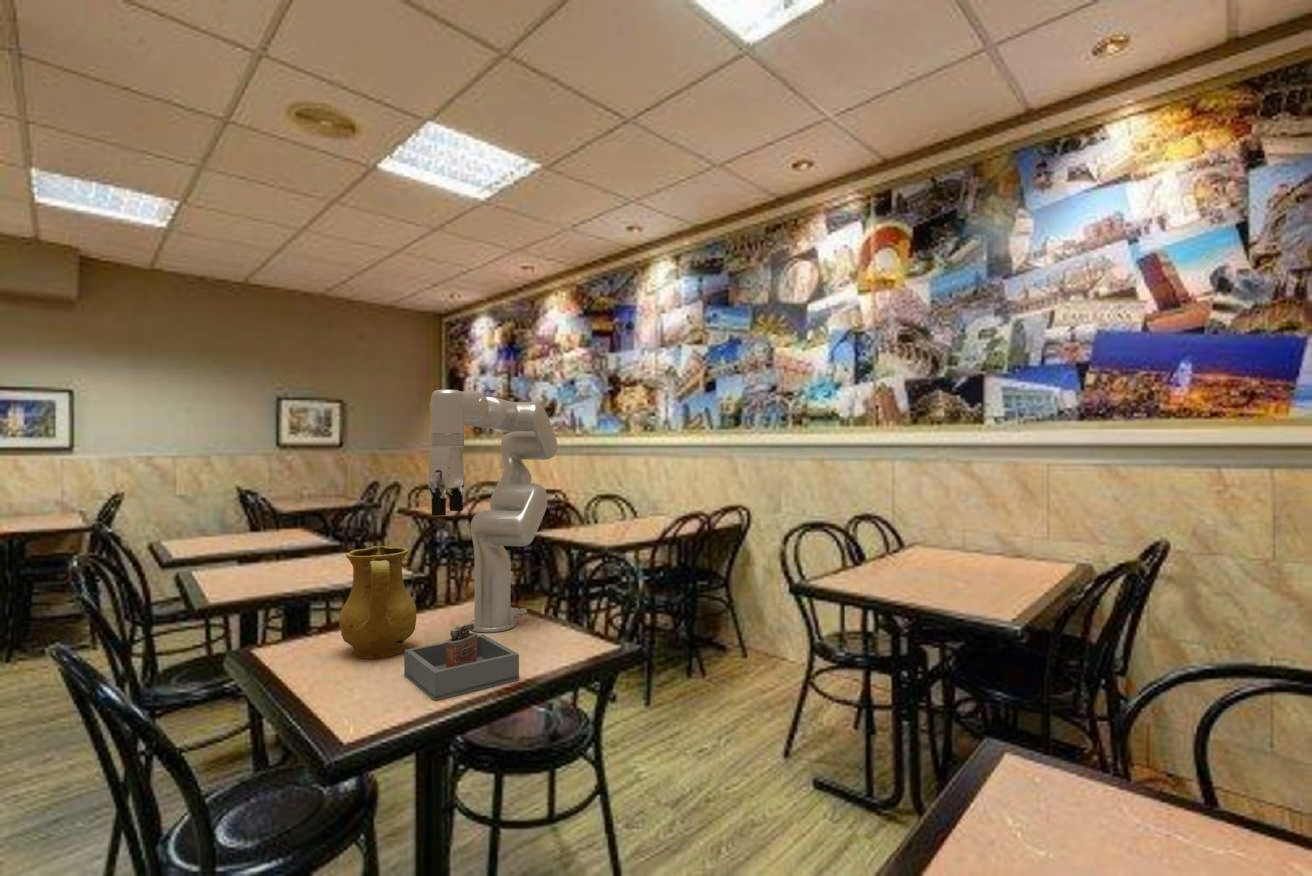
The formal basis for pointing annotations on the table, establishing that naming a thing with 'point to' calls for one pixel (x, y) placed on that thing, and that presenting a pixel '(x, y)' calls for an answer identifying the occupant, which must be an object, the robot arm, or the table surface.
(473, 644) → the lighter
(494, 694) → the table surface
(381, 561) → the pitcher
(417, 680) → the bin
